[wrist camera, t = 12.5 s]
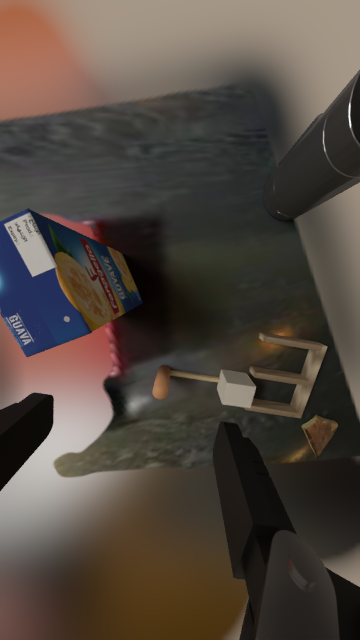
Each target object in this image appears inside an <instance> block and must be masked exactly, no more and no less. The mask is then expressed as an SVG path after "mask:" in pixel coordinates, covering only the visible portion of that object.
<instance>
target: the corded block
mask: <svg viewBox="0 0 360 640" xmlns="http://www.w3.org/2000/svg"><path fill="white" fill-rule="evenodd" d="M170 375H171V376H178V377H185V378H192V379H198V380H205V381H212V382H218V386H217V390H218V393H219V396H220V399H221V402H222V404H225V405H232V406H239V407H246V408H251V404H252V400H253V397H254V393H255V390H256V386H255V385H254V383H253V382H252V380H251V379H250V377H249V376H248V375H247V373H242V372H236V371H229V370H222V369H221V373H220V377H214V376H208V375H201V374H194V373H187V372H180V371H173V370H171V369H170V367H169V366H167V365H162V366H160V367H159V369H158V373H157V376H156V380H155V384H154V388H153V395H154V397H156V398H157V399H164V398H166V397H167V396H168V392H169V383H170Z"/></svg>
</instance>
